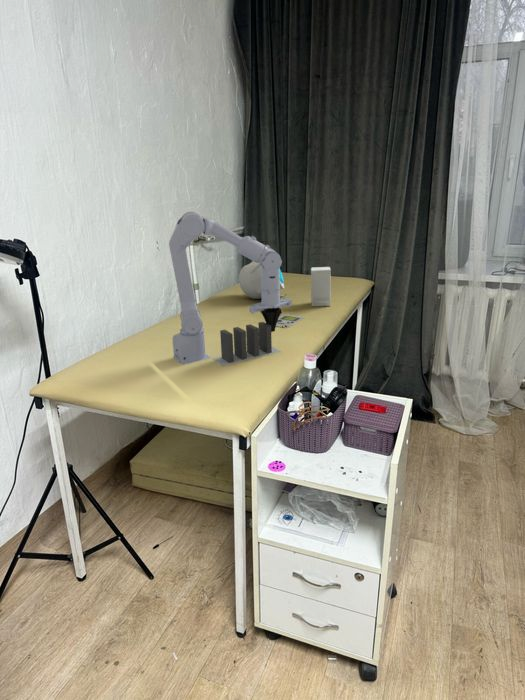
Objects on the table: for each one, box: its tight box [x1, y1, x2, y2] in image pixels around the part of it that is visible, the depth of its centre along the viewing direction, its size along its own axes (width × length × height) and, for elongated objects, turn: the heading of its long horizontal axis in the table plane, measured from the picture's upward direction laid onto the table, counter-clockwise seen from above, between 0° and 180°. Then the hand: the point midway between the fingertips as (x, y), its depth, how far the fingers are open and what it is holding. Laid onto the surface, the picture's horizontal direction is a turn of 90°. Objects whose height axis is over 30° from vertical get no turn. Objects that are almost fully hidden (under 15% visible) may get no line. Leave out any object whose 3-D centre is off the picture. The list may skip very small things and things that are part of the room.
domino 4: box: [257, 321, 273, 354], centre depth 152 cm, size 2×5×9 cm, turn 32°
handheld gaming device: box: [276, 314, 306, 328], centre depth 184 cm, size 9×1×15 cm
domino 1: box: [219, 329, 235, 363], centre depth 145 cm, size 2×5×9 cm, turn 31°
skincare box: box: [310, 266, 332, 307], centre depth 202 cm, size 8×7×16 cm
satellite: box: [238, 260, 287, 300], centre depth 213 cm, size 23×20×25 cm
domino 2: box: [232, 326, 247, 360], centre depth 148 cm, size 2×5×9 cm, turn 31°
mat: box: [212, 346, 282, 367], centre depth 150 cm, size 21×7×1 cm, turn 121°
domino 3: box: [245, 323, 259, 357], centre depth 150 cm, size 2×5×9 cm, turn 31°
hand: (271, 330), depth 152 cm, fingers closed
